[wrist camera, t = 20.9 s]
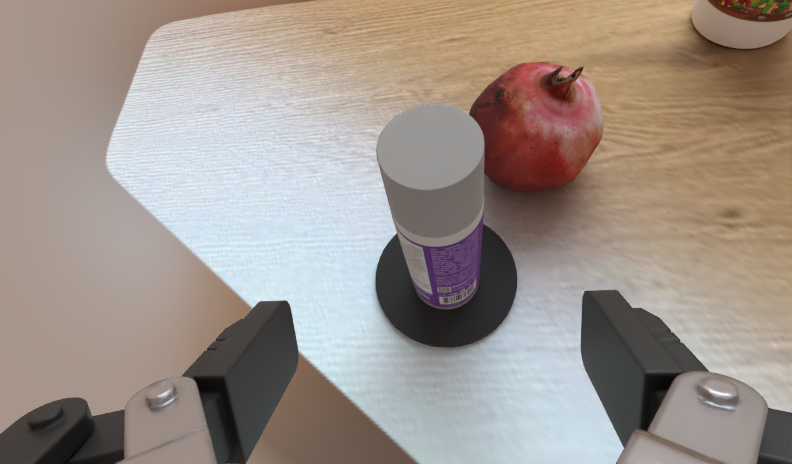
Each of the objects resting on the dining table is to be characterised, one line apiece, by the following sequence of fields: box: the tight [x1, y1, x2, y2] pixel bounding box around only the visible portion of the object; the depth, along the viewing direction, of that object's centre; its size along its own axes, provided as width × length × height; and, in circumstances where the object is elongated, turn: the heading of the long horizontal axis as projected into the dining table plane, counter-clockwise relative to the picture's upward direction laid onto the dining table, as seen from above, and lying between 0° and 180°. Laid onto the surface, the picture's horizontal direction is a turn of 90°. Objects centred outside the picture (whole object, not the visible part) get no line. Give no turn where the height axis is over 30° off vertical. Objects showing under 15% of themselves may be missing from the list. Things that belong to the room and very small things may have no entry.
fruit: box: [469, 62, 604, 192], centre depth 31 cm, size 9×10×10 cm
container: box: [376, 104, 484, 309], centre depth 25 cm, size 5×5×15 cm
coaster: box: [376, 224, 517, 347], centre depth 31 cm, size 10×10×1 cm
